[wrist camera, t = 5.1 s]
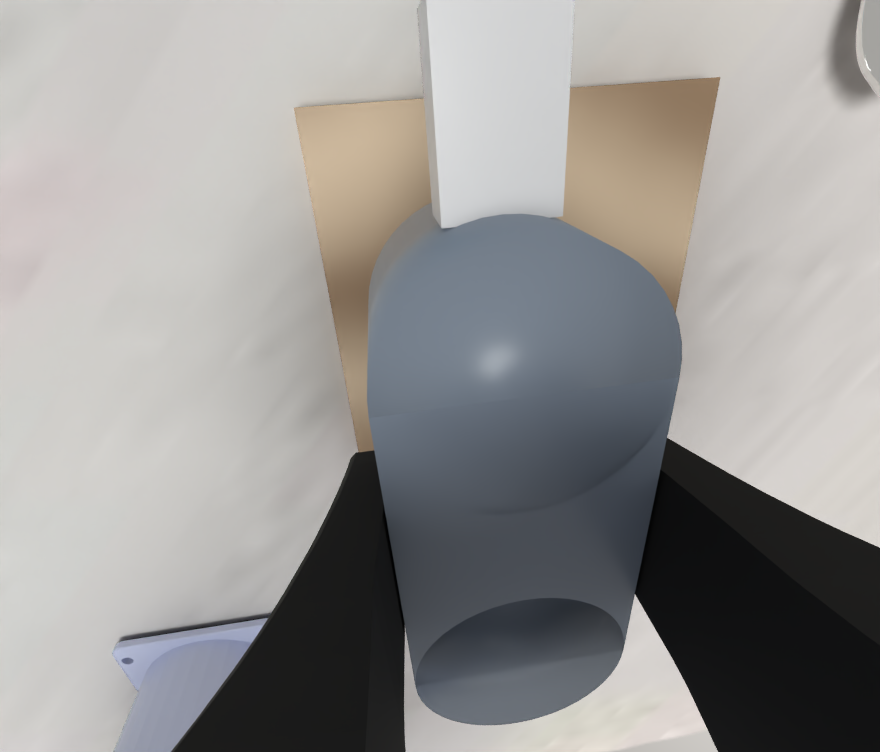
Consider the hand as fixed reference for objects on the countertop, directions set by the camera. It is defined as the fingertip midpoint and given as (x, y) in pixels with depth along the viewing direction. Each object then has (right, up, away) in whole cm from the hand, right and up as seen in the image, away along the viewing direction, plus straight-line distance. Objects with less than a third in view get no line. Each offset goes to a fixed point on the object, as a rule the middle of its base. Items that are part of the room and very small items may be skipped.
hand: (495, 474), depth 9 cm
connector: (0, +2, +1) cm, 2 cm away
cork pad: (+1, +5, +7) cm, 9 cm away
